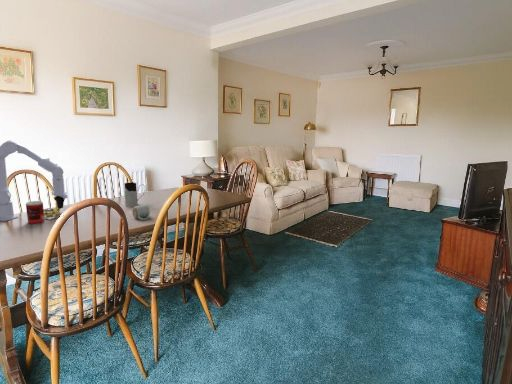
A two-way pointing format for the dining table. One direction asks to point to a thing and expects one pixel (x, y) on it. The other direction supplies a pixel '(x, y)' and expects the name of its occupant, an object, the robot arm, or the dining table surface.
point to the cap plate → (51, 215)
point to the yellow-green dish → (55, 211)
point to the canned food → (35, 212)
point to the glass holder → (131, 194)
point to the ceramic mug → (141, 212)
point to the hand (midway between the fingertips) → (60, 208)
